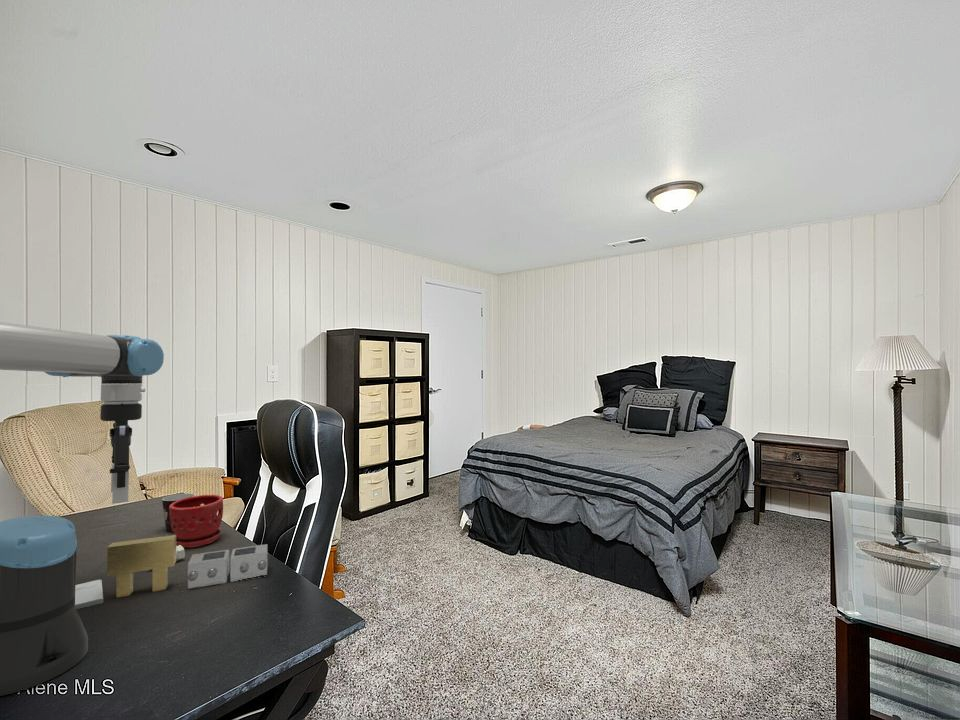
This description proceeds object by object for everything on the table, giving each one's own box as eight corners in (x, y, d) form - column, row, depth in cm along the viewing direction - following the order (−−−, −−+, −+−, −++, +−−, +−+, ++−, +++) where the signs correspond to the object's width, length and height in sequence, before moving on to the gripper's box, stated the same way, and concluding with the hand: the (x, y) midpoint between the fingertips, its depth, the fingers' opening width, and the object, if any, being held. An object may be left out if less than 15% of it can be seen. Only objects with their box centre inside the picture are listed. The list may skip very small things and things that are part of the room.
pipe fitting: (136, 569, 117) (151, 572, 114) (136, 553, 117) (150, 556, 114) (170, 558, 124) (185, 560, 121) (170, 543, 124) (184, 545, 121)
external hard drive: (50, 619, 93) (53, 596, 103) (103, 605, 98) (101, 585, 108) (50, 611, 93) (53, 589, 103) (103, 597, 99) (101, 578, 108)
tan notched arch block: (173, 588, 104) (173, 538, 105) (106, 599, 100) (107, 547, 100) (176, 583, 107) (176, 534, 108) (111, 593, 103) (112, 542, 103)
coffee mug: (164, 527, 147) (164, 495, 147) (196, 523, 151) (196, 492, 151) (157, 539, 137) (157, 504, 137) (191, 534, 140) (191, 500, 140)
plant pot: (175, 538, 137) (175, 497, 138) (226, 532, 142) (226, 492, 142) (163, 554, 125) (163, 508, 125) (219, 547, 130) (219, 503, 130)
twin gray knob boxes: (266, 577, 110) (266, 553, 110) (187, 590, 104) (187, 565, 104) (267, 566, 116) (267, 544, 116) (192, 578, 110) (192, 554, 110)
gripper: (146, 403, 100) (143, 504, 99) (138, 401, 120) (136, 485, 119) (101, 405, 96) (97, 510, 95) (100, 402, 115) (97, 489, 114)
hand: (119, 496), depth 107 cm, fingers open, 13 cm apart
